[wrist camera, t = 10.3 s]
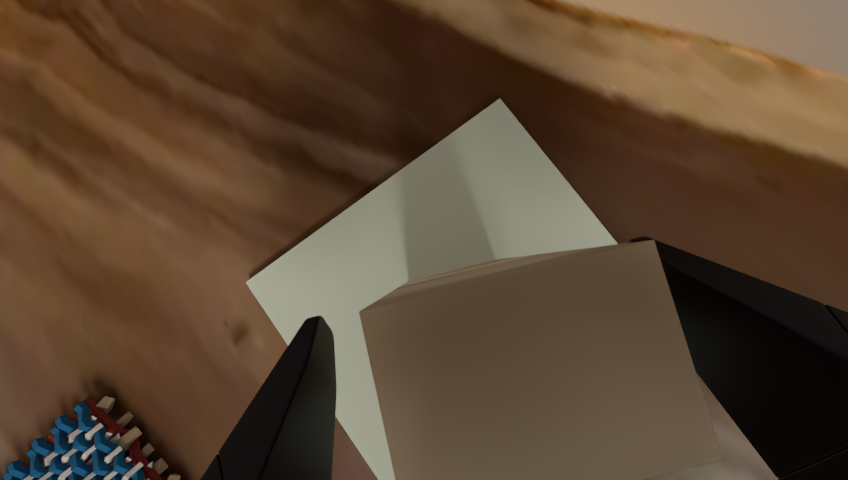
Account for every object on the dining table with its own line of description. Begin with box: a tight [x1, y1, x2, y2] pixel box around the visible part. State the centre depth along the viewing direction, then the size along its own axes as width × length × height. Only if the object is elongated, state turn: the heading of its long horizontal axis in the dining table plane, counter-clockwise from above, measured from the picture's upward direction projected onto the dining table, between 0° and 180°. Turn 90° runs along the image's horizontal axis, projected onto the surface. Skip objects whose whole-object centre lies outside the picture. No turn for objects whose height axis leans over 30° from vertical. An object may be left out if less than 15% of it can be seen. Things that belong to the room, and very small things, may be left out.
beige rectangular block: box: [359, 240, 724, 480], centre depth 11 cm, size 4×5×12 cm
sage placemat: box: [246, 98, 618, 480], centre depth 17 cm, size 18×16×1 cm
